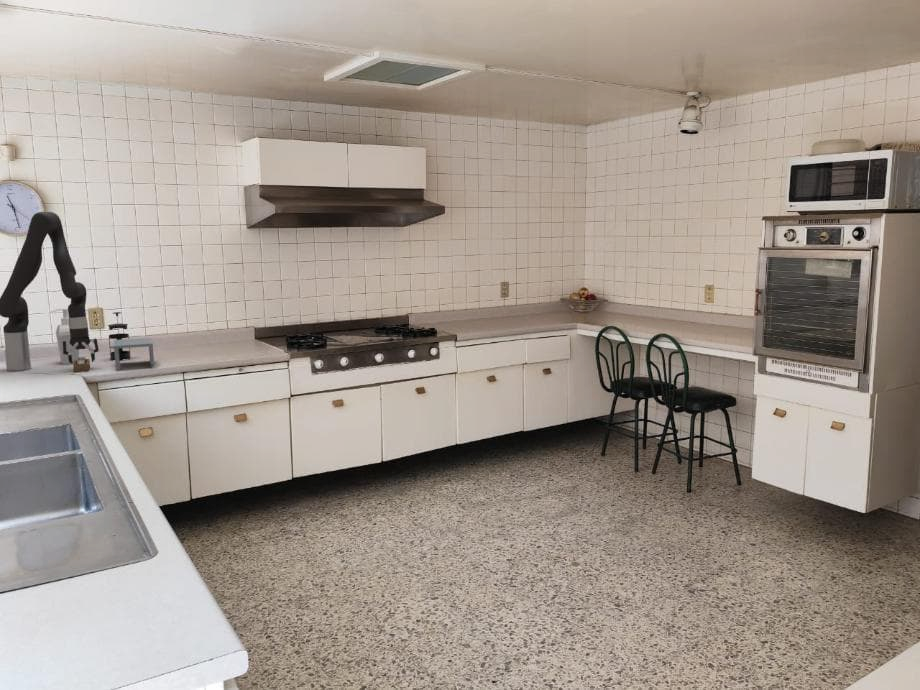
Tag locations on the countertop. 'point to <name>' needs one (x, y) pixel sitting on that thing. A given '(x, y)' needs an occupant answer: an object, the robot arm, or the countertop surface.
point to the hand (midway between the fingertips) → (82, 362)
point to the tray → (81, 364)
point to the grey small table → (129, 344)
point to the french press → (119, 337)
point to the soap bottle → (65, 338)
